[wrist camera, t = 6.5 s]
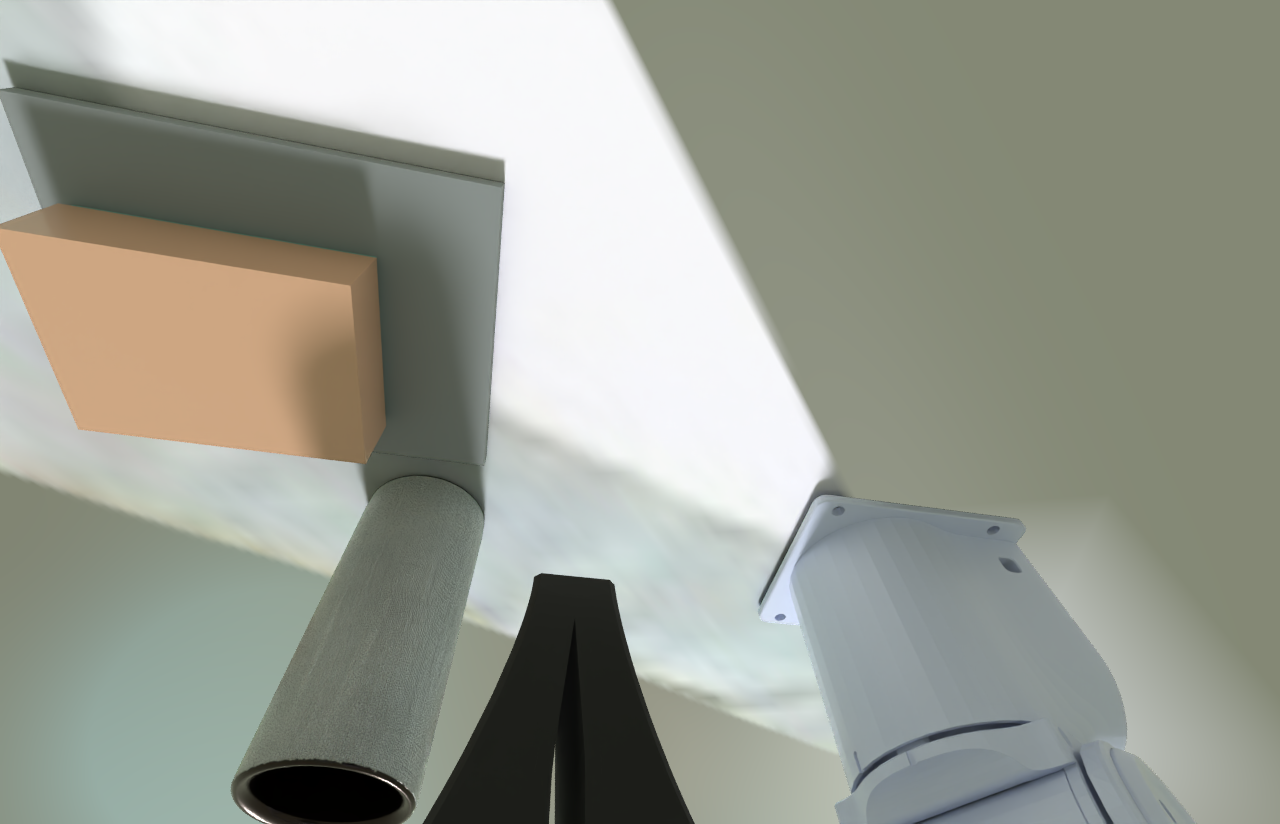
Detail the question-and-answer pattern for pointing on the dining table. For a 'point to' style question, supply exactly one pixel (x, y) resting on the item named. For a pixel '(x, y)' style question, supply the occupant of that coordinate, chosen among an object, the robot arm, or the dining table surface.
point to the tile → (204, 332)
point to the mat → (309, 237)
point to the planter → (369, 667)
